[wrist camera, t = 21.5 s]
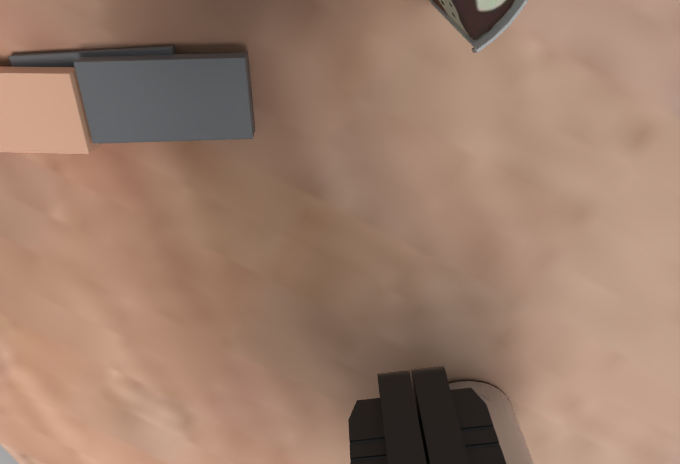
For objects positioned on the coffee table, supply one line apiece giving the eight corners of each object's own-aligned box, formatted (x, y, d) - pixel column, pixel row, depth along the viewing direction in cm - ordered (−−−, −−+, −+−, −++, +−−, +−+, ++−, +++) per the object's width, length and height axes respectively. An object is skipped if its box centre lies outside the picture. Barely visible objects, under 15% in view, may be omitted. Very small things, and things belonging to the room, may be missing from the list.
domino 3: (252, 138, 36) (92, 143, 35) (254, 130, 37) (101, 135, 37) (244, 57, 33) (73, 62, 33) (247, 52, 35) (83, 56, 34)
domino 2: (89, 154, 35) (-61, 150, 36) (100, 145, 37) (-44, 142, 37) (69, 73, 33) (-91, 72, 34) (82, 67, 34) (-72, 65, 35)
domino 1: (186, 126, 37) (33, 135, 37) (191, 119, 38) (44, 127, 38) (171, 47, 34) (8, 56, 34) (177, 42, 36) (21, 51, 36)
